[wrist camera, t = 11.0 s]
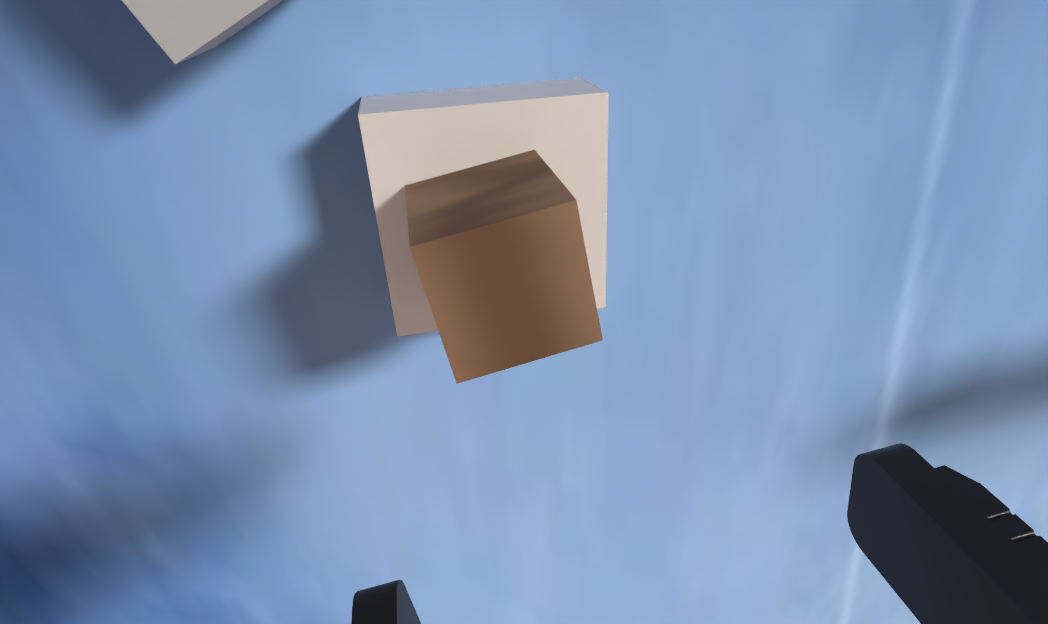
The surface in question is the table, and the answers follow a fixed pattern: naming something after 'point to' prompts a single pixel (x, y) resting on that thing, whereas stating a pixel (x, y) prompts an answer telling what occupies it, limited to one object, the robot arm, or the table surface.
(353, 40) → the table surface
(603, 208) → the base block
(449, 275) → the walnut cube
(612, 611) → the table surface
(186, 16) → the grey block
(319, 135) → the table surface
